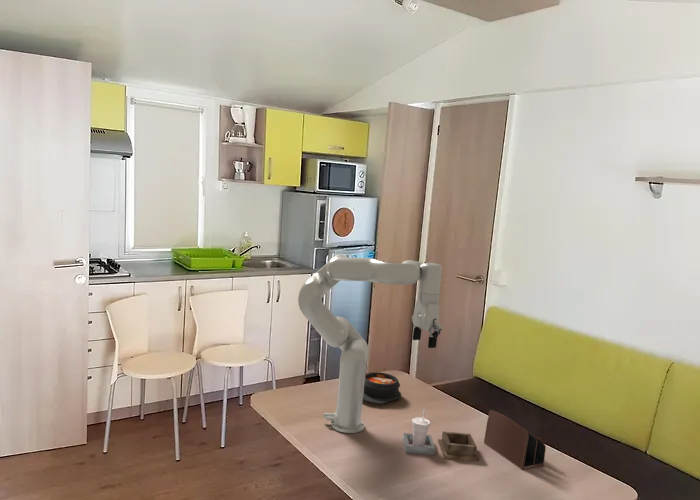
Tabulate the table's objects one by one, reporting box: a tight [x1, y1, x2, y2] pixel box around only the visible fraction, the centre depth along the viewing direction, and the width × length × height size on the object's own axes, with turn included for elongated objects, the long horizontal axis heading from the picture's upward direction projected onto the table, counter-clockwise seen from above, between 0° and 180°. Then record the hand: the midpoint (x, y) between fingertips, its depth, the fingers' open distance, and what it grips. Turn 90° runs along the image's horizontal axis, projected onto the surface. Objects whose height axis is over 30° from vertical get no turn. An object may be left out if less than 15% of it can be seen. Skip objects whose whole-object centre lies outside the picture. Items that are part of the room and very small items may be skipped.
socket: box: [437, 431, 480, 462], centre depth 190 cm, size 12×12×4 cm
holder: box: [402, 432, 436, 456], centre depth 190 cm, size 10×10×2 cm
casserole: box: [363, 371, 402, 405], centre depth 233 cm, size 25×19×8 cm
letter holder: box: [483, 409, 547, 471], centre depth 191 cm, size 10×20×14 cm, turn 26°
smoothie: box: [411, 408, 431, 446], centre depth 189 cm, size 6×6×14 cm
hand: (424, 343), depth 195 cm, fingers open, 9 cm apart
